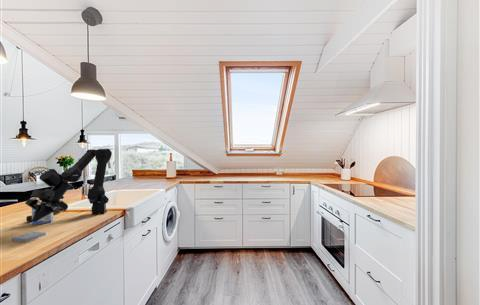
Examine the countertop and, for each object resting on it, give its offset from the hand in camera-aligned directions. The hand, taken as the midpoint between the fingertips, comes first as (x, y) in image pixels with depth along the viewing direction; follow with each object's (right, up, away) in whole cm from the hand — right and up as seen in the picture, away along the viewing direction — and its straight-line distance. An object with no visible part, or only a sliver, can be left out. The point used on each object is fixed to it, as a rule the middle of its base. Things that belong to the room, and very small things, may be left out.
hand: (33, 221), depth 98 cm
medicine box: (-13, -7, +19) cm, 24 cm away
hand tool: (-20, -7, +29) cm, 35 cm away
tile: (0, -6, +2) cm, 6 cm away
